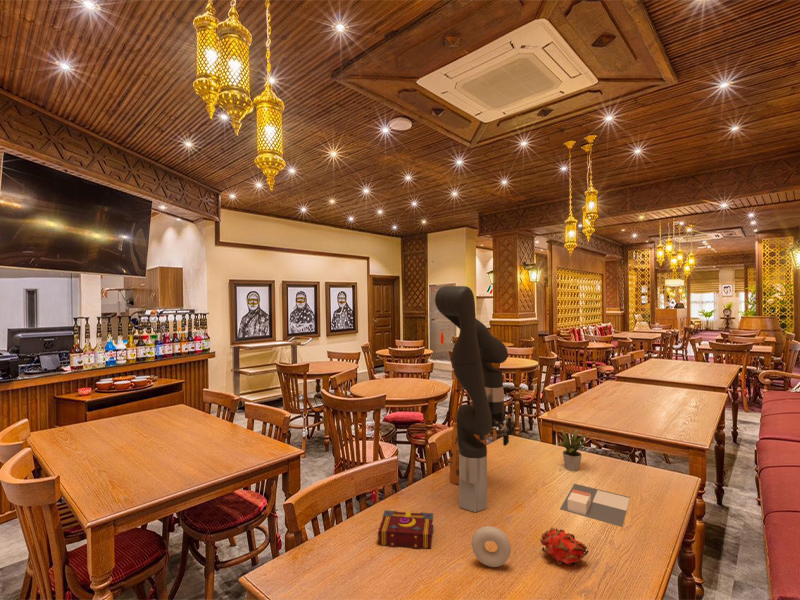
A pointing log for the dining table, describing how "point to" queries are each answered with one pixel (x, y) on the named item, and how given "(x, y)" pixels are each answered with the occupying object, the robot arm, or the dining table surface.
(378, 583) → the dining table surface
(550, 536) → the dragon fruit
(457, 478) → the coffee package
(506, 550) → the donut
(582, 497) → the card box
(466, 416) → the robot arm
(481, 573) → the dining table surface
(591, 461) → the dining table surface
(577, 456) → the house plant
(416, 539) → the decorative book
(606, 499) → the mat
